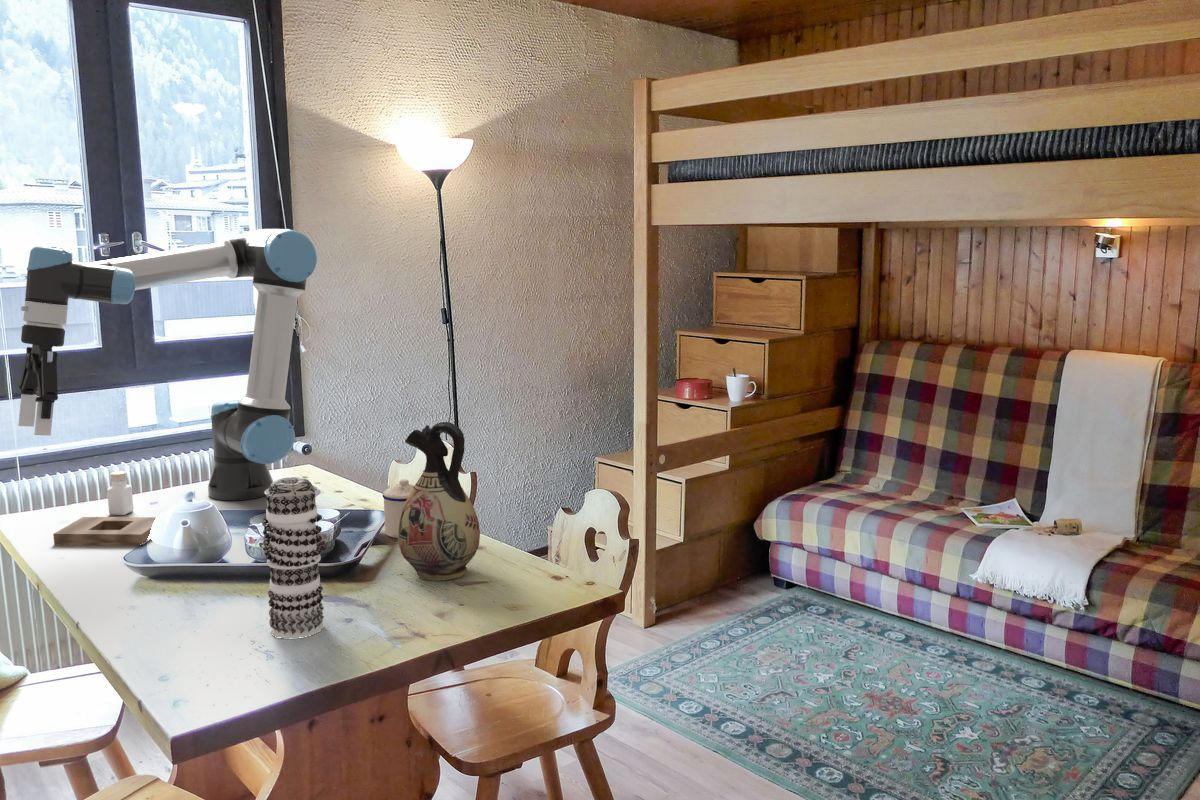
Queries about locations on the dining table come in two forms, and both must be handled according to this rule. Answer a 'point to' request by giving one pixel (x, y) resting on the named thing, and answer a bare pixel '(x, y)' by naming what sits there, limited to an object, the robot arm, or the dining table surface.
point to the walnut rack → (105, 531)
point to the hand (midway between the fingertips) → (34, 430)
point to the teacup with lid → (395, 505)
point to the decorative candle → (293, 558)
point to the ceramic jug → (438, 510)
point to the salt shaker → (120, 494)
